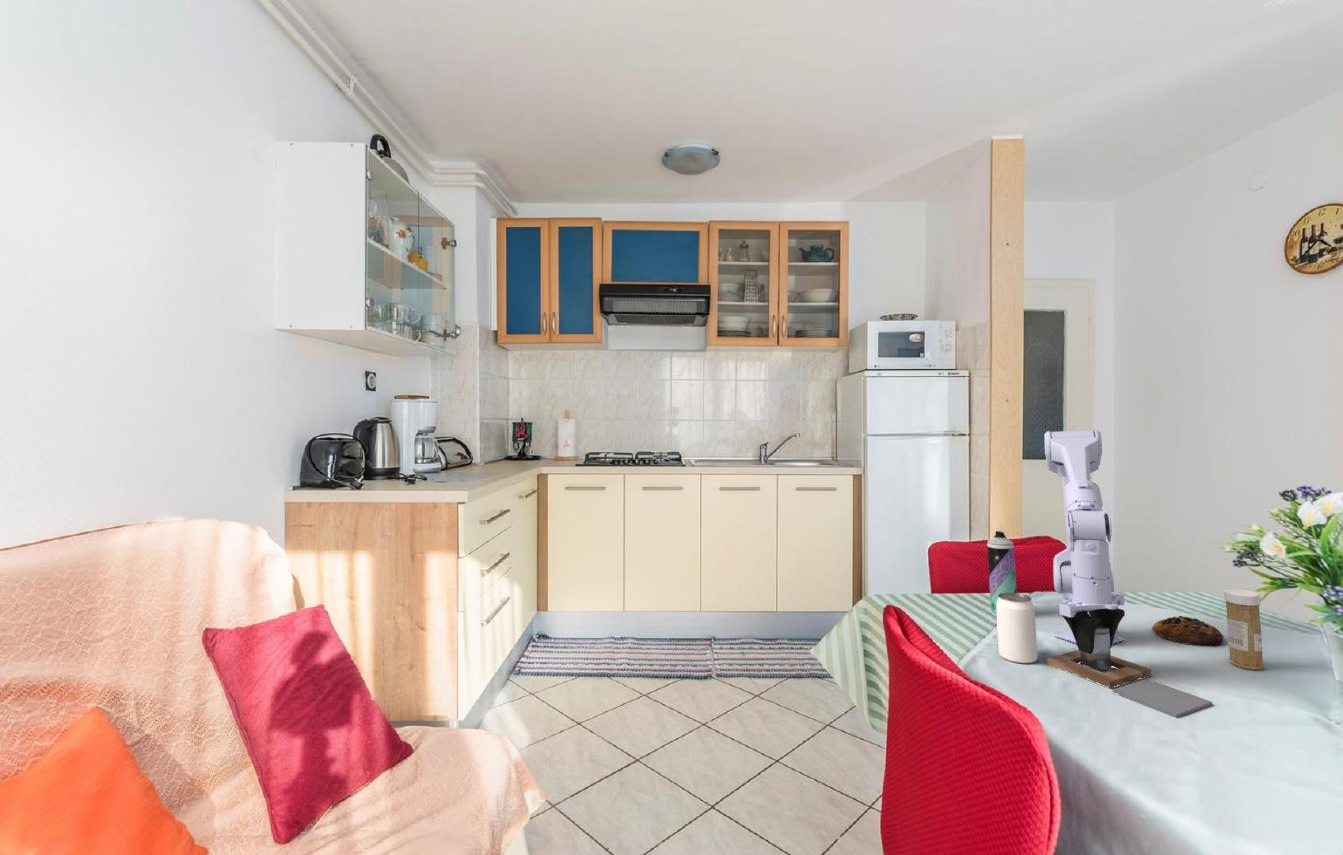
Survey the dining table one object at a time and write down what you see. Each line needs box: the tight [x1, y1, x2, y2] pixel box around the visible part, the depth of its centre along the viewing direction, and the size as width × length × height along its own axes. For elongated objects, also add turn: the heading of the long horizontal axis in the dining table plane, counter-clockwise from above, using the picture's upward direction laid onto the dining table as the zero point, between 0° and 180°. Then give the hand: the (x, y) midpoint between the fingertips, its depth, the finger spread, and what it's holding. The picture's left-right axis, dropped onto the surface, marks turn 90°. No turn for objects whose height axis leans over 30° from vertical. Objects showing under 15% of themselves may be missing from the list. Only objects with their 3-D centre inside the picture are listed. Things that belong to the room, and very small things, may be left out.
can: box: [996, 592, 1038, 665], centre depth 108 cm, size 6×6×12 cm
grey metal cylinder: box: [1080, 623, 1112, 670], centre depth 101 cm, size 4×4×7 cm
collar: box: [1046, 649, 1153, 689], centre depth 101 cm, size 11×11×1 cm
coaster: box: [1112, 678, 1213, 719], centre depth 90 cm, size 9×9×1 cm
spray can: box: [986, 530, 1017, 618], centre depth 131 cm, size 6×6×20 cm
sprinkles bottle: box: [1223, 588, 1265, 671], centre depth 100 cm, size 5×5×14 cm
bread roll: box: [1151, 615, 1225, 648], centre depth 114 cm, size 11×11×5 cm
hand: (1094, 649), depth 101 cm, fingers closed on grey metal cylinder, 4 cm apart
